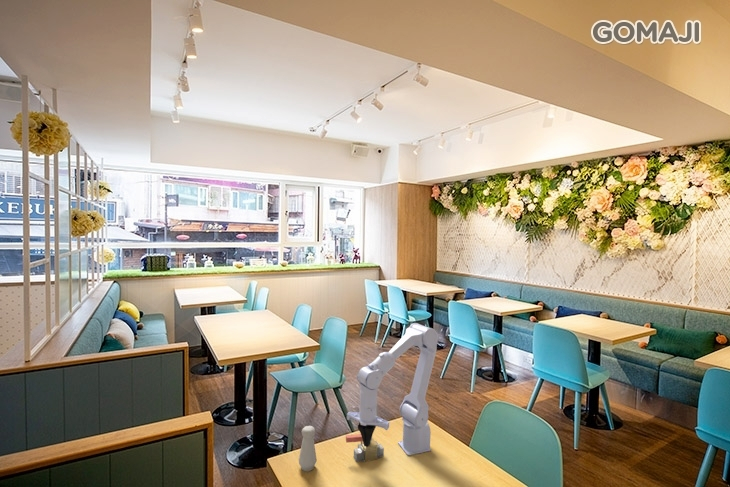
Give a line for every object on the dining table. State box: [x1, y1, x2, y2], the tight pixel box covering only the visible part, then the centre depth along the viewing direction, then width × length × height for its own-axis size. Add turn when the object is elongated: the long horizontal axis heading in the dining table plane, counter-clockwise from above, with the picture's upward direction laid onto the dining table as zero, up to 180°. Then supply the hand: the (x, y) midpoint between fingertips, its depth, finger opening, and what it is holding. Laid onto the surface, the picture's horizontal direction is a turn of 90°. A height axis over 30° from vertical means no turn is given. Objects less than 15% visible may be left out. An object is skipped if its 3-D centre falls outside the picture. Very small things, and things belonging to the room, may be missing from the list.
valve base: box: [353, 437, 385, 463], centre depth 124 cm, size 10×4×6 cm, turn 111°
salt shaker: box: [298, 425, 317, 472], centre depth 117 cm, size 6×6×13 cm
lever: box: [345, 433, 373, 443], centre depth 123 cm, size 9×2×2 cm, turn 101°
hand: (366, 445), depth 119 cm, fingers closed
